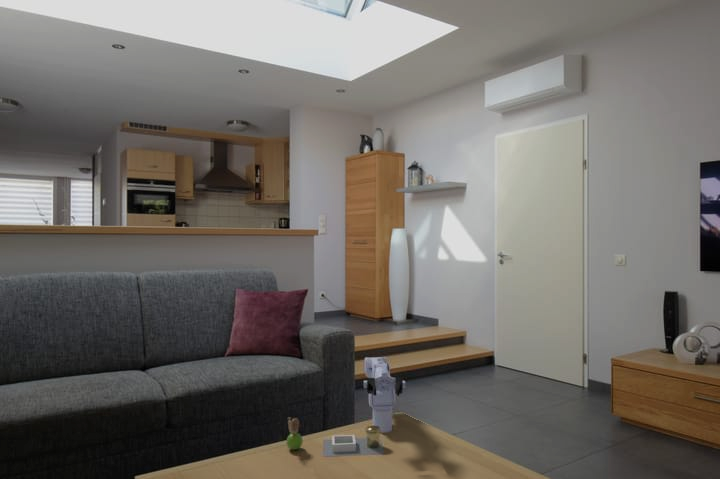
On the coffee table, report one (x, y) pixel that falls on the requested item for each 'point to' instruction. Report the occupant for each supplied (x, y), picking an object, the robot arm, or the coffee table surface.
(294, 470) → the coffee table surface
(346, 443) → the fitting board
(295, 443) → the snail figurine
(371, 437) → the brass door knob
